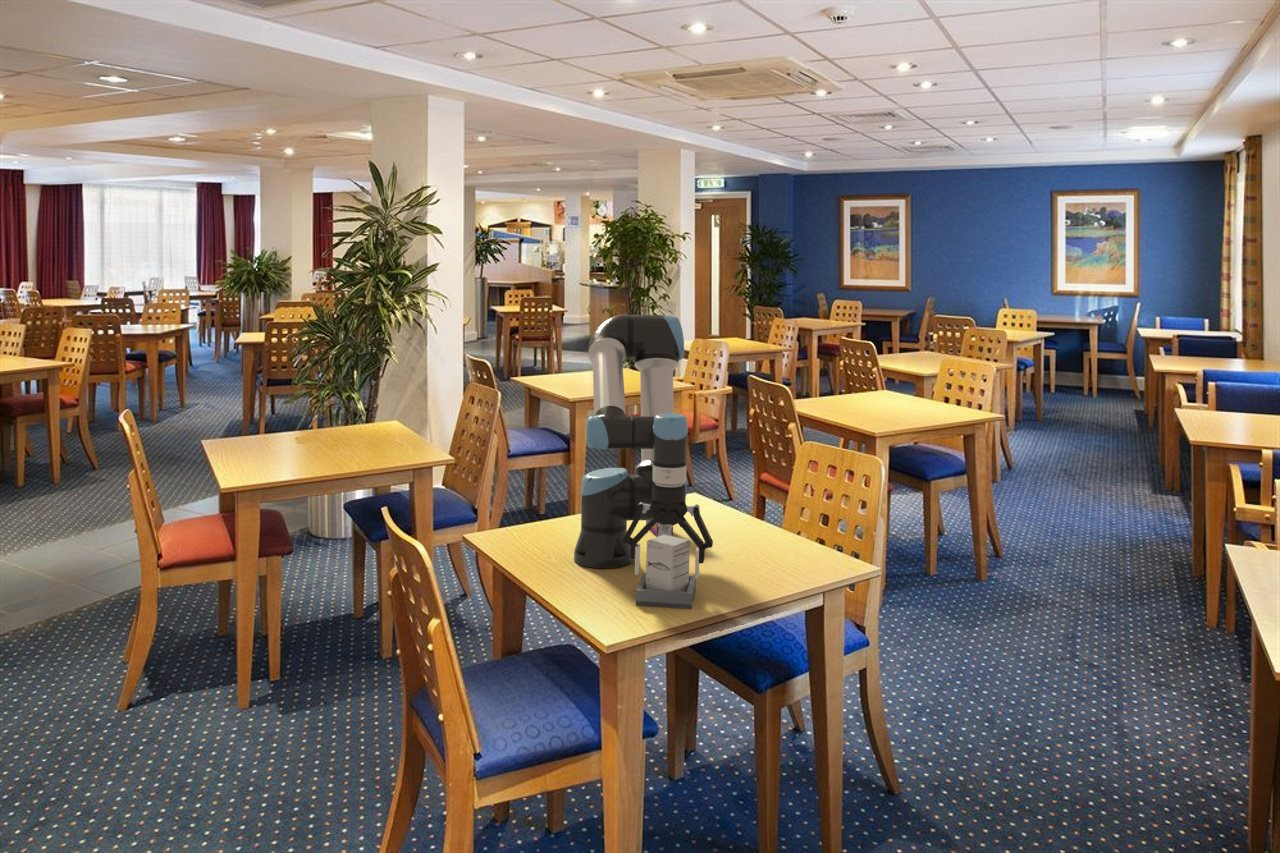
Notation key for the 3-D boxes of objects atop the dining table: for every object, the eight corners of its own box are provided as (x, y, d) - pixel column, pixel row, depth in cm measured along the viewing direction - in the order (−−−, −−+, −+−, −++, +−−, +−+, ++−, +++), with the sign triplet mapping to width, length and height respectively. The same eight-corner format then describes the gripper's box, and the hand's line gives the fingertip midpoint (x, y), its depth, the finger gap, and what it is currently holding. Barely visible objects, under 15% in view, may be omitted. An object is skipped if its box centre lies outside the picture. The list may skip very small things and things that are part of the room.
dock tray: (635, 605, 209) (635, 590, 208) (643, 587, 221) (643, 572, 220) (691, 609, 207) (691, 593, 206) (695, 590, 219) (696, 575, 219)
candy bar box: (674, 536, 263) (675, 479, 260) (657, 537, 262) (658, 480, 259) (661, 526, 274) (662, 471, 271) (645, 527, 272) (646, 471, 270)
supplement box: (644, 594, 213) (645, 540, 211) (663, 585, 219) (664, 533, 217) (670, 601, 209) (672, 546, 206) (689, 592, 214) (691, 539, 212)
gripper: (611, 484, 207) (609, 576, 211) (724, 490, 204) (721, 583, 208) (616, 477, 215) (615, 566, 218) (726, 482, 212) (722, 572, 215)
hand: (666, 574), depth 213 cm, fingers open, 13 cm apart
